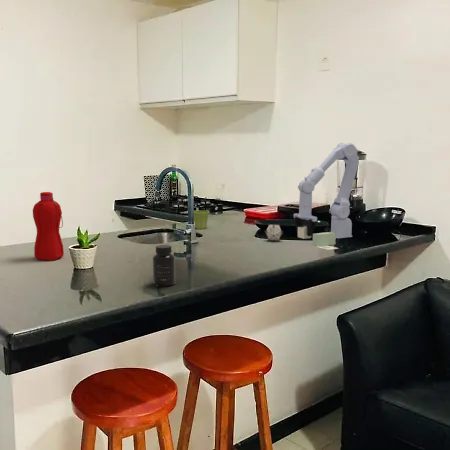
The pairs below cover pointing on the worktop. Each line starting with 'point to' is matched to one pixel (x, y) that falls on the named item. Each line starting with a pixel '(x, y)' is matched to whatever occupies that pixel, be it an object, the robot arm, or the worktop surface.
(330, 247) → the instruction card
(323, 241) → the sage brick
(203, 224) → the plant pot
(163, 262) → the supplement bottle
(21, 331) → the worktop surface
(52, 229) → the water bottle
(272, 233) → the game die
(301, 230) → the ivory brick
